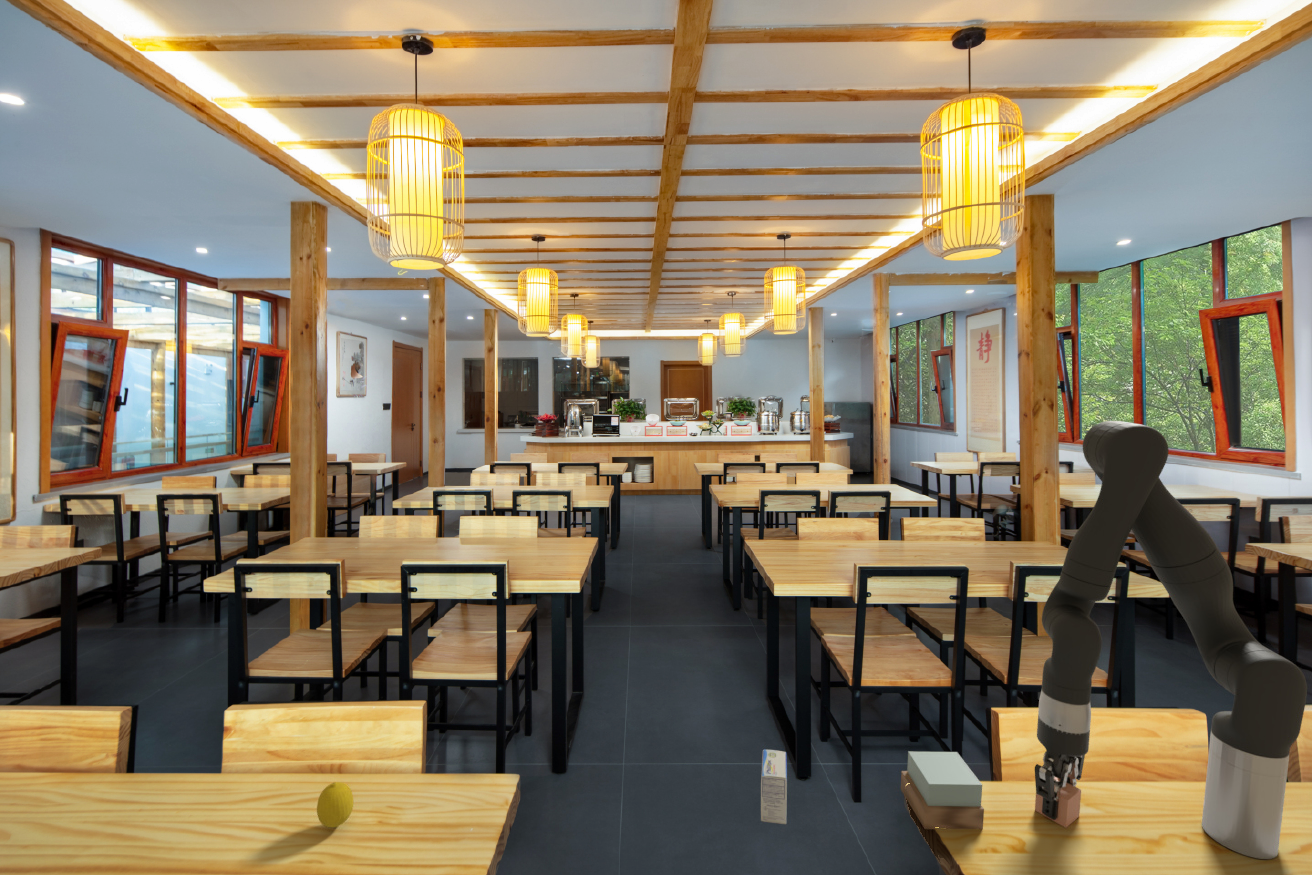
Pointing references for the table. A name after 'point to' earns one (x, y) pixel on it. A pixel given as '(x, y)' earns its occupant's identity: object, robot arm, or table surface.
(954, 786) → the tower top block
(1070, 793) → the terracotta block
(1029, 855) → the table surface
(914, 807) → the tower base block
